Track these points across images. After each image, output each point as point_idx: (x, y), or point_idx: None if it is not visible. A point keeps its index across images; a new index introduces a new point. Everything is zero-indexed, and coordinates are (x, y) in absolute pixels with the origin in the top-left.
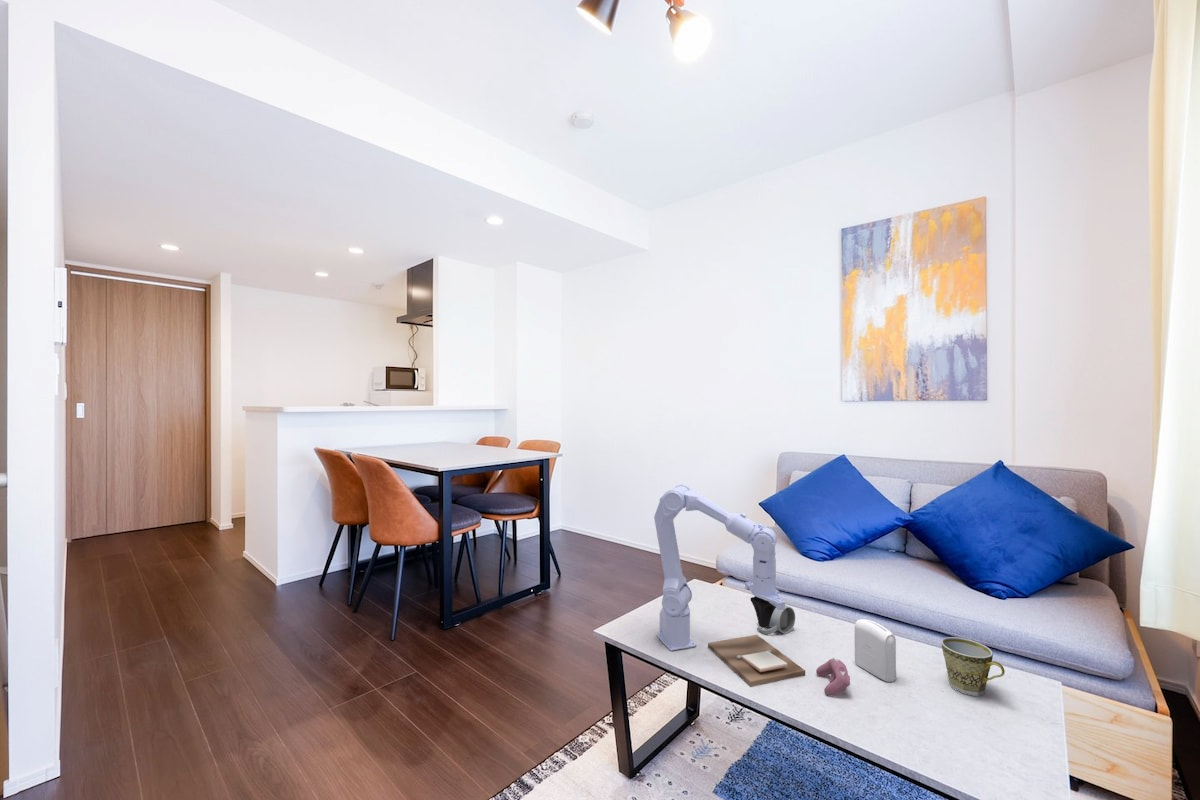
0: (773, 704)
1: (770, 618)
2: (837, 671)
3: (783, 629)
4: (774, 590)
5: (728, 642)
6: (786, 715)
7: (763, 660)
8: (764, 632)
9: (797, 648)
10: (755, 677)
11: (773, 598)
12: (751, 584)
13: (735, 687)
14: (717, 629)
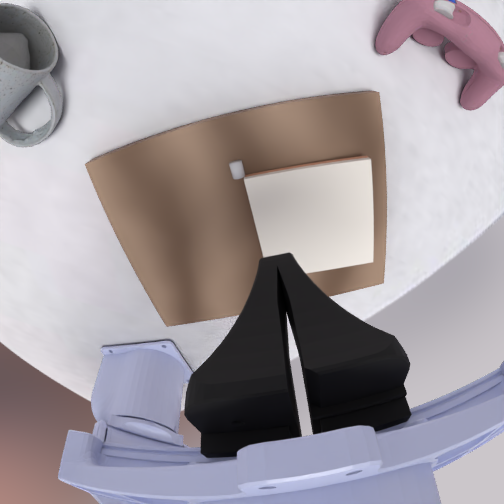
0: (445, 250)
1: (311, 281)
2: (499, 70)
3: (32, 47)
4: (438, 501)
5: (156, 277)
6: (474, 240)
7: (323, 229)
8: (56, 124)
9: (169, 21)
10: (372, 266)
11: (472, 448)
12: (124, 497)
13: (368, 304)
14: (57, 265)
